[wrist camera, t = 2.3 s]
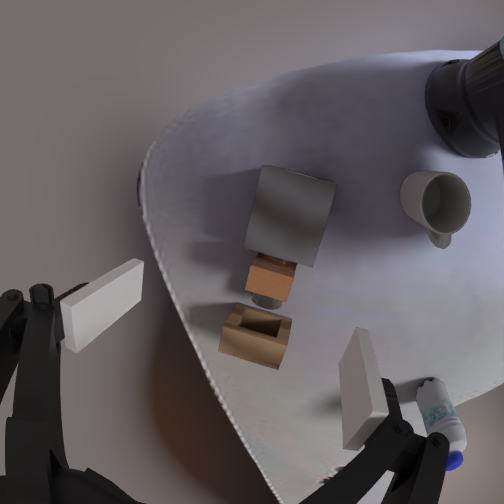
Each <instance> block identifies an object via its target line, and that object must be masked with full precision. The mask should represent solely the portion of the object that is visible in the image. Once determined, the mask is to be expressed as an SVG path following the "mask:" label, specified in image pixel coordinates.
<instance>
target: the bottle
mask: <svg viewBox="0 0 504 504" xmlns="http://www.w3.org/2000/svg"><path fill="white" fill-rule="evenodd" d="M416 401H417V404H418V407H419V410H420V412H421V414H422V418H423V421H424V425H425V428H426V432H427V435H428V436H429V434H431V433H432V432H439V433H442V434H443V435H445V436H446V437H447V438H448V440H449V442H450V450H449V456H448V461H447V466H446V471H451V470H454V469H456V468H457V467H459V466H460V465H461V464H462V462H463V456H462V453H461V452H462V451H463V450H464V449H465V447H466V445H467V441H466V435H465V429H464V427H463V426H462V423H461V421H459V420H458V417H457V415H456V412H455V410H454V407H453V405H452V402H451V400H450V397H449V394H448V391H447V388H446V386H445V384H444V383H443V382H442V381H440V380H439V379H437V378H433V379H432V381H428V380H426V381H425V382H424V385H423V386H419V387H418V389H417V395H416Z"/></svg>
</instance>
